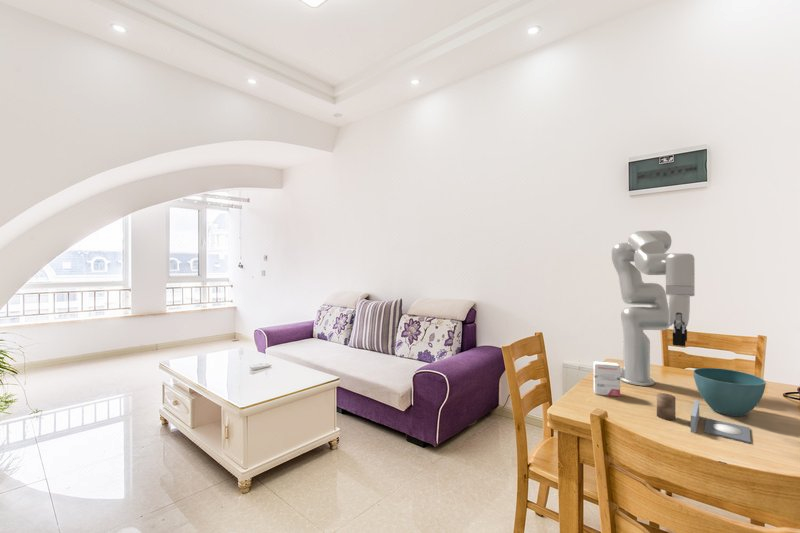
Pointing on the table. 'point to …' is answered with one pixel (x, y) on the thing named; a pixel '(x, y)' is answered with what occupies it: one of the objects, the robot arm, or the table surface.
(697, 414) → the divider wall
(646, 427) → the table surface
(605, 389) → the ink box
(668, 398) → the walnut block
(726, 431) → the mat
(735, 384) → the teal bowl
